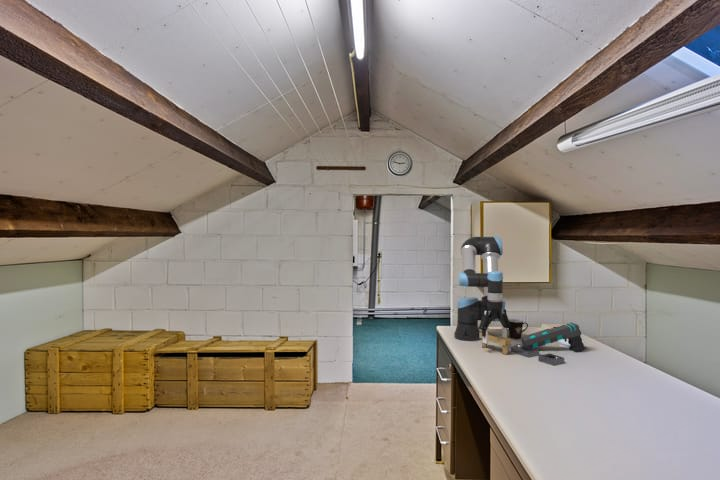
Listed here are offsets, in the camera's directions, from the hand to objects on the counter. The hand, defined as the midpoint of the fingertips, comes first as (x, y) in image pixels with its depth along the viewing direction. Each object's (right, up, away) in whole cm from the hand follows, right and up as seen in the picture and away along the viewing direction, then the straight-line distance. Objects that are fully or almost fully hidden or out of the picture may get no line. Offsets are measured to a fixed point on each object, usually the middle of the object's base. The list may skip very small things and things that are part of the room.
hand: (494, 341), depth 212 cm
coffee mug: (+22, -5, +27) cm, 35 cm away
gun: (+31, -5, +2) cm, 31 cm away
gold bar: (0, -5, 0) cm, 5 cm away
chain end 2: (+21, -5, -18) cm, 28 cm away
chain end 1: (+14, -5, -4) cm, 15 cm away
